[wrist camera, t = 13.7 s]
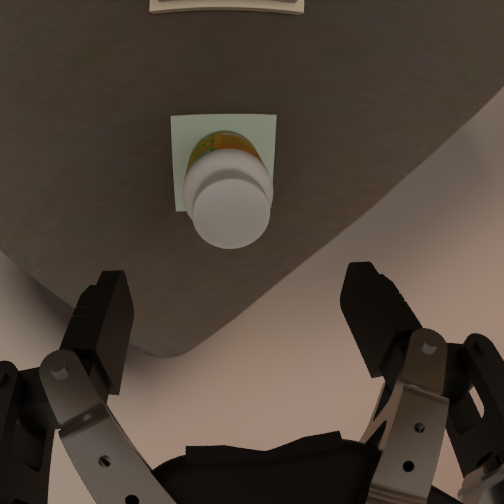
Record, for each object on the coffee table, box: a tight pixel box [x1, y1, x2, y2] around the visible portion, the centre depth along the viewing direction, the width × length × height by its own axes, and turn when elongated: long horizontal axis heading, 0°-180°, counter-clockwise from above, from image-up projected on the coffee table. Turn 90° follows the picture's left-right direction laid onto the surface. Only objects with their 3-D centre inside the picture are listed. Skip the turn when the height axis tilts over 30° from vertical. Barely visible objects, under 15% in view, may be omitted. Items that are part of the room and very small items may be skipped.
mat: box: [171, 114, 277, 211], centre depth 24 cm, size 8×8×1 cm
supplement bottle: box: [182, 131, 273, 249], centre depth 20 cm, size 5×5×10 cm
